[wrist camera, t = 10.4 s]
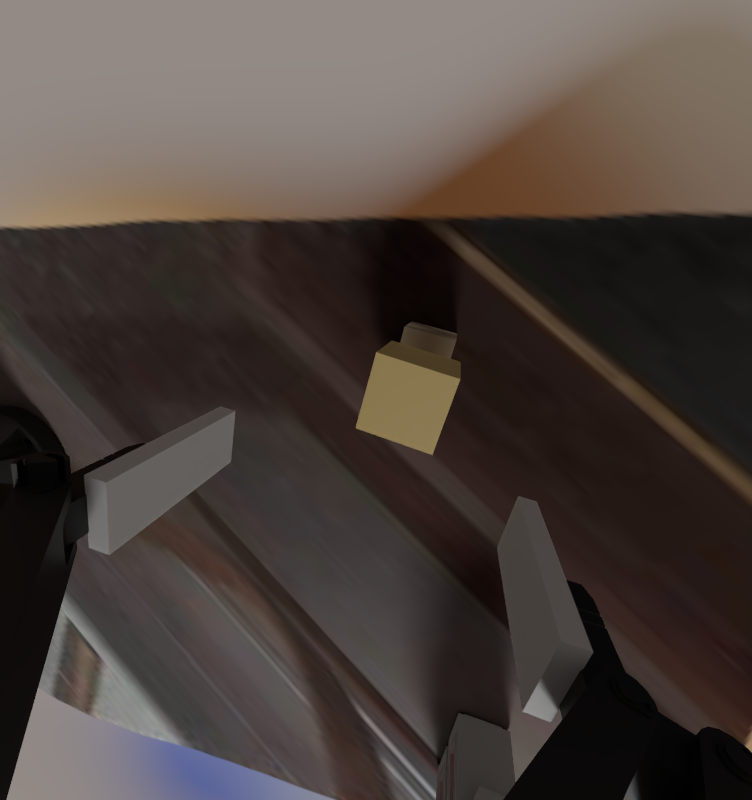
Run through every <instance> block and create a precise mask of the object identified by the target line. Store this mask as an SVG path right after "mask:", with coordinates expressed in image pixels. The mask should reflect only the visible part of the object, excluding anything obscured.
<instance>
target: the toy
mask: <svg viewBox="0 0 752 800" xmlns="http://www.w3.org/2000/svg"><path fill="white" fill-rule="evenodd" d="M514 784H515V774H514V765H513V756H512V746H511V737H510V731H507V730H504V729H502V727H500V726H497V725H494V724H491V723H489V722H486V721H483V720H480V719H477V718H475V717H472V716H469V715H466V714H464V715H463V714H460V713H458V716H457V718H456V721H455V724H454V727H453V729H452V732H451V735H450V738H449V746H446V749H445V751H444V754H443V757H442V760H441V762H440V765H439V768H438V771H437V790H436V800H503V799H504V798H505V796H506V795H507V794H508V792H509V791H510V790H511V788H512V787H513V786H514Z"/></svg>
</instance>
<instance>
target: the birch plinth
mask: <svg viewBox="0 0 752 800" xmlns="http://www.w3.org/2000/svg"><path fill="white" fill-rule="evenodd" d="M456 338H457V333H453V332H450V331H446V330H442V329H439V328H435V327H431V326H427V325H424V324H420V323H416V322H410V323H409V324H407V325H406V326H405V327H404V331H403V334H402V338H401V342H400V343H402V344H405V345H408V346H411V347H414V348H418V349H421V350H424V351H427V352H430V353H434V354H437V355H440V356H443V357H446V358H449V359H451V355H452V352H453V349H454V346H455V343H456Z"/></svg>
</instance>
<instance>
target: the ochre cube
mask: <svg viewBox="0 0 752 800" xmlns="http://www.w3.org/2000/svg"><path fill="white" fill-rule="evenodd" d="M460 366H461V362H459V361H456V360H453V359H449V358H446V357H443V356H440V355H437V354H434V353H430V352H427V351H424V350H421V349H418V348H414V347H411V346H408V345H405V344H402V343H399V342H395V341H391V342H389V343H388V344H387V345H385V346H384V347H383V348H381V349H380V350H379V351H377V352H376V356H375V359H374V363H373V367H372V370H371V374H370V377H369V381H368V385H367V388H366V392H365V396H364V399H363V403H362V407H361V410H360V414H359V418H358V421H357V425H356V428H357V429H360V430H363V431H365V432H368V433H371V434H374V435H377V436H380V437H382V438H385V439H388V440H391V441H394V442H397V443H400V444H402V445H405V446H408V447H411V448H414V449H417V450H419V451H422V452H425V453H428V454H431V455H432V454H433V452H434V449H435V446H436V444H437V441H438V438H439V435H440V433H441V430H442V427H443V425H444V422H445V419H446V416H447V414H448V411H449V408H450V406H451V403H452V400H453V398H454V395H455V392H456V389H457V387H458V384H459V381H460Z"/></svg>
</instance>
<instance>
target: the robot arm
mask: <svg viewBox="0 0 752 800" xmlns="http://www.w3.org/2000/svg"><path fill="white" fill-rule="evenodd" d="M234 421H235V411H234V410H230V409H227V408H224V407H219V408H217V409H215V410H213V411H211V412H209V413H207V414H205V415H203V416H201V417H199V418H197V419H195V420H193V421H191V422H189V423H187V424H185V425H183V426H181V427H179V428H177V429H175V430H173V431H171V432H169V433H167V434H165V435H163V436H161V437H159V438H157V439H155V440H153V441H151V442H149V443H147V444H145V443H140V444H136V445H132V446H128V447H126V448H124V449H122V450H119V451H117V452H115V453H114V455H113V454H111V455H109V456H107V457H105V458H104V459H103V460H102V459H101V460H99V461H97V462H95V463H92V464H90V465H88V466H86V467H84V468H82V469H80V470H78V471H76V472H74V473H72V474H71V469H70V457H69V456H68V455H67V454H65V453H64V452H63V450H62V448H61V446H60V444H59V442H58V441H57V439H56V438H55V436H54V435H53V434H52V432H51V431H50V430H49V429H48V428H47V427H46V425H45V424H43V423H42V422H41V421H40V420H39V419H38V418H36V417H35V416H34V415H32V414H31V413H29V412H27V411H25V410H23V409H20V408H17V407H13V406H0V800H6V798H7V795H8V791H9V788H10V784H11V781H12V777H13V774H14V770H15V767H16V763H17V759H18V756H19V752H20V749H21V745H22V742H23V738H24V734H25V731H26V728H27V724H28V721H29V717H30V713H31V710H32V707H33V703H34V699H35V696H36V692H37V689H38V685H39V682H40V678H41V675H42V671H43V668H44V664H45V661H46V657H47V654H48V650H49V647H50V643H51V639H52V636H53V632H54V629H55V625H56V622H57V618H58V615H59V611H60V608H61V604H62V601H63V597H64V593H65V590H66V586H67V583H68V579H69V576H70V572H71V569H72V565H73V562H74V558H75V555H76V551H77V542H76V540H78V539H79V538H81V537H82V536H84V535H85V534H87V533H88V542H89V548H91V549H94V550H97V551H99V552H102V553H105V554H107V555H110V554H112V553H113V552H114V551H115V550H117V549H118V548H119V547H121V546H122V545H123V544H125V543H126V542H127V541H129V540H130V539H131V538H132V537H134V536H135V535H136V534H138V533H139V532H140V531H142V530H143V529H144V528H145V527H147V526H148V525H149V524H151V523H152V522H153V521H155V520H156V519H157V518H158V517H160V516H161V515H162V514H164V513H165V512H166V511H168V510H169V509H170V508H171V507H173V506H174V505H175V504H177V503H178V502H179V501H181V500H182V499H183V498H184V497H186V496H187V495H188V494H190V493H191V492H192V491H194V490H195V489H196V488H197V487H199V486H200V485H201V484H203V483H204V482H205V481H207V480H208V479H209V478H210V477H212V476H213V475H214V474H216V473H217V472H218V471H220V470H221V469H222V468H223V467H225V466H226V465H227V464H229V463H230V462H231V454H232V443H233V432H234ZM497 551H498V558H499V564H500V571H501V577H502V583H503V590H504V596H505V603H506V609H507V615H508V622H509V628H510V635H511V641H512V648H513V654H514V660H515V667H516V673H517V680H518V686H519V692H520V699H521V705H522V712H525V713H528V714H530V715H533V716H536V717H538V718H541V719H544V720H546V721H549V722H552V720H553V718H554V717H555V715H556V713H557V712H558V710H559V708H560V711H561V715H562V719H563V720H562V721H561V722H560V724H559V725H558V726H557V728H556V729H555V730H554V732H553V733H552V734H551V736H550V737H549V739H548V740H547V741H546V743H545V744H544V745H543V747H542V748H541V749H540V751H539V752H538V753H537V755H536V756H535V757H534V759H533V760H532V761H531V763H530V764H529V765H528V767H527V768H526V769H525V771H524V772H523V774H522V775H521V776H520V778H519V779H518V780H517V782H516V783H515V784H514V786H513V787H512V788H511V790H510V791H509V792H508V794H507V795H506V796H505V798H504V799H503V800H623V799H624V797H626V798H627V799H629V800H752V753H751V752H750V751H749V749H748V748H746V747H745V746H744V745H743V744H741V743H740V742H739V741H737V740H736V739H735V738H734V737H732V736H730V735H729V734H727V733H725V732H723V731H721V730H720V729H716V728H712V727H706V728H703V729H701V730H700V731H699V733H698V734H697V735H694V734H693V733H691V732H689V731H688V730H686V729H685V728H683V727H681V726H680V725H678V724H677V723H675V722H673V721H672V720H670V719H669V718H667V717H665V716H664V715H663V714H661V713H660V712H658V709H657V706H656V704H655V702H654V700H653V699H652V697H651V696H650V695H649V693H648V692H647V690H646V689H645V688H644V687H643V686H642V685H641V684H640V683H639V682H638V681H637V680H635V679H634V678H633V677H631V676H630V675H628V674H627V673H626V672H625V670H624V668H623V665H622V663H621V661H620V659H619V656H618V654H617V652H616V650H615V647H614V645H613V643H612V640H611V638H610V636H609V634H608V631H607V629H605V625H604V622H603V620H602V618H601V617H600V613H599V611H598V609H597V606H596V604H595V602H594V600H593V598H592V597H591V596H590V595H589V593H588V592H587V591H586V590H585V588H584V587H583V586H582V585H581V584H578V583H575V582H571V581H568V580H566V578H565V576H564V573H563V570H562V568H561V565H560V562H559V560H558V557H557V554H556V552H555V549H554V546H553V544H552V541H551V538H550V536H549V533H548V530H547V528H546V525H545V522H544V520H543V517H542V514H541V512H540V509H539V506H538V504H537V502H536V501H533V500H529V499H526V498H523V497H520V496H518V498H517V500H516V503H515V505H514V508H513V510H512V512H511V515H510V517H509V520H508V522H507V524H506V527H505V529H504V532H503V534H502V536H501V539H500V541H499V544H498V546H497Z"/></svg>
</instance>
